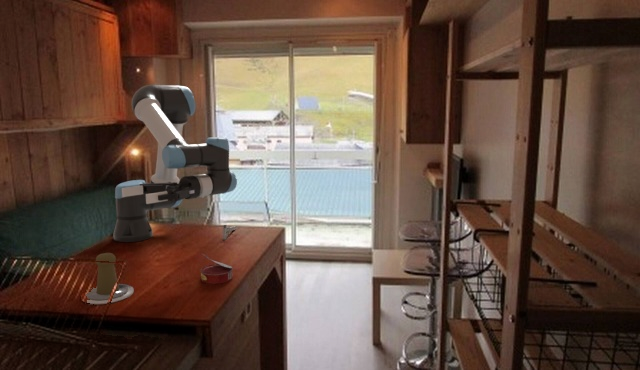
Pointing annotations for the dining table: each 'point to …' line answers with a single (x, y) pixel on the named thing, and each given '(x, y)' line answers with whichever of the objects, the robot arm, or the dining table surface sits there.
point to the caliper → (227, 231)
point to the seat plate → (99, 299)
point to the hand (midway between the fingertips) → (134, 195)
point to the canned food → (216, 273)
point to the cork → (106, 274)
